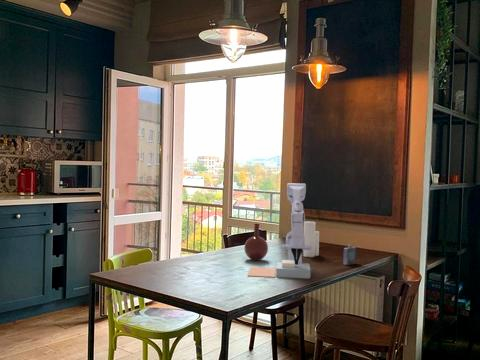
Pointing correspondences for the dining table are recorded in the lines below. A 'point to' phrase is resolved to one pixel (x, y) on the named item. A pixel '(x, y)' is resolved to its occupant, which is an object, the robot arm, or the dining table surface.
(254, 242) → the round-bottom flask
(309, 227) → the white tall block
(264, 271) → the mat
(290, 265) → the tile
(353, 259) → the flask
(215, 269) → the dining table surface
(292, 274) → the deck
